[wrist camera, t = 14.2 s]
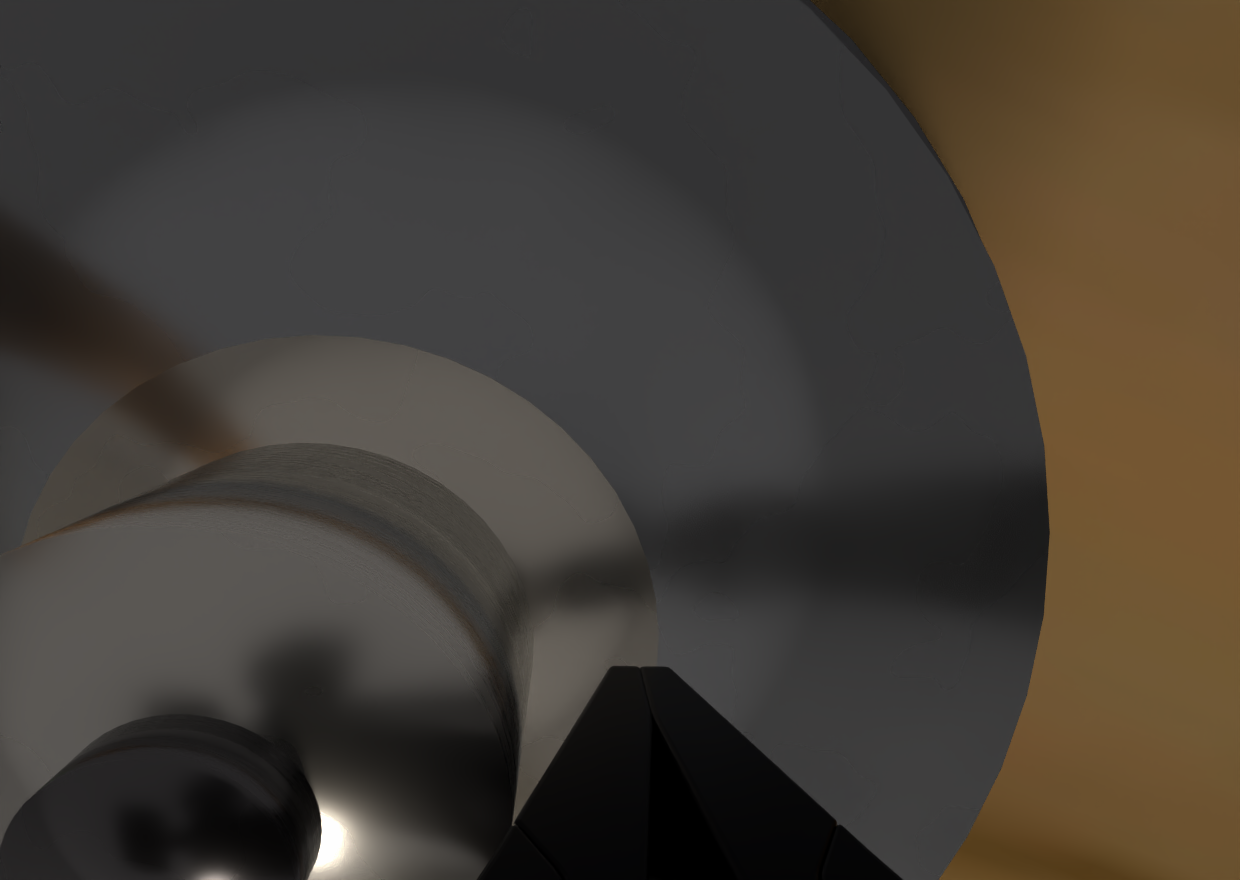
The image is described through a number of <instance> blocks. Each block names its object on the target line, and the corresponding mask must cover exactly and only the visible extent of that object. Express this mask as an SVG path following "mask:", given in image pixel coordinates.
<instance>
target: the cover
mask: <svg viewBox="0 0 1240 880" xmlns="http://www.w3.org/2000/svg"><path fill="white" fill-rule="evenodd" d="M533 649H534V634H533V626H532V617H531V611H530V607H529V603H528V600H527V596H526V592H525V589H524V586H523V584H522V581H521V579H520V577H519V574H518V572H517V570H516V567H515V565H514V563H513V561H512V560H511V558H510V556H509V555H508V553H507V551H506V550H505V548H504V546H503V545H502V543H501V541H500V540H499V539H498V537H497V536H496V535H495V534H494V532H493V531H492V530H491V529H490V527H489V526H488V525H487V524H486V522H485V521H484V520H483V519H482V518H481V517H480V516H479V515H478V514H477V513H476V512H475V511H474V510H473V509H472V508H471V507H470V506H469V505H468V504H467V503H466V502H465V501H464V500H462V499H461V498H460V497H458V496H457V495H456V494H454V493H453V492H452V491H450V490H449V489H448V488H446V487H445V486H444V485H442V484H441V483H439V482H438V481H436V480H434V479H432V478H431V477H429V476H427V475H425V474H424V473H422V472H420V471H418V470H417V469H415V468H413V467H410V466H408V465H406V464H403V463H401V462H398V461H396V460H394V459H391V458H389V457H386V456H383V455H379V454H376V453H372V452H369V451H365V450H362V449H358V448H352V447H346V446H339V445H333V444H321V443H289V444H278V445H268V446H263V447H259V448H254V449H250V450H245V451H241V452H237V453H235V454H232V455H229V456H226V457H224V458H221V459H218V460H215V461H213V462H210V463H208V464H206V465H203V466H201V467H199V468H197V469H194V470H192V471H190V472H188V473H185V474H183V475H181V476H179V477H176V478H174V479H172V480H169V481H167V482H165V483H163V484H160V485H158V486H156V487H154V488H151V489H149V490H147V491H145V492H142V493H140V494H138V495H135V496H133V497H131V498H129V499H126V500H124V501H122V502H120V503H117V504H115V505H113V506H111V507H108V508H106V509H104V510H101V511H99V512H97V513H95V514H92V515H90V516H88V517H86V518H83V519H81V520H79V521H77V522H74V523H72V524H70V525H67V526H65V527H63V528H61V529H58V530H56V531H54V532H52V533H49V534H47V535H45V536H43V537H40V538H38V539H36V540H33V541H31V542H29V543H27V544H24V545H22V546H20V547H18V548H15V549H13V550H11V551H9V552H6V553H4V554H2V555H0V880H477V878H478V877H479V875H480V874H481V872H482V871H483V869H484V868H485V866H486V865H487V863H488V862H489V860H490V859H491V857H492V856H493V854H494V853H495V851H496V850H497V848H498V846H499V845H500V843H501V841H502V840H503V838H504V837H505V835H506V833H507V832H508V830H509V828H510V827H511V826H512V822H513V815H514V807H515V799H516V791H517V783H518V776H519V768H520V760H521V752H522V744H523V737H524V729H525V721H526V713H527V705H528V697H529V690H530V682H531V674H532V666H533Z"/></svg>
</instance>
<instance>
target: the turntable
mask: <svg viewBox="0 0 1240 880" xmlns="http://www.w3.org/2000/svg"><path fill="white" fill-rule="evenodd" d="M289 443H321V444H333V445H339V446H346V447H352V448H358V449H362V450H365V451H369V452H372V453H376V454H379V455H383V456H386V457H389V458H391V459H394V460H396V461H398V462H401V463H403V464H406V465H408V466H410V467H413V468H415V469H417V470H418V471H420V472H422V473H424V474H425V475H427V476H429V477H431V478H432V479H434V480H436V481H438V482H439V483H441V484H442V485H444V486H445V487H446V488H448V489H449V490H450V491H452V492H453V493H454V494H456V495H457V496H458V497H460V498H461V499H462V500H464V501H465V502H466V503H467V504H468V505H469V506H470V507H471V508H472V509H473V510H474V511H475V512H476V513H477V514H478V515H479V516H480V517H481V518H482V519H483V520H484V521H485V522H486V524H487V525H488V526H489V527H490V529H491V530H492V531H493V532H494V534H495V535H496V536H497V537H498V539H499V540H500V541H501V543H502V545H503V546H504V548H505V550H506V551H507V553H508V555H509V556H510V558H511V560H512V561H513V563H514V565H515V567H516V570H517V572H518V574H519V577H520V579H521V581H522V584H523V586H524V589H525V592H526V596H527V600H528V603H529V607H530V611H531V617H532V626H533V634H534V649H533V666H532V674H531V682H530V690H529V697H528V705H527V713H526V721H525V729H524V737H523V744H522V752H521V760H520V768H519V776H518V783H517V791H516V799H515V807H514V815H513V822H512V826H513V825H514V821H515V819H516V818H517V816H518V815H519V813H520V811H521V810H522V808H523V806H524V805H525V803H526V802H527V800H528V798H529V797H530V795H531V794H532V792H533V790H534V789H535V787H536V785H537V784H538V782H539V781H540V779H541V777H542V776H543V774H544V773H545V771H546V769H547V768H548V766H549V764H550V763H551V761H552V760H553V758H554V756H555V755H556V753H557V751H558V750H559V748H560V747H561V745H562V743H563V742H564V740H565V739H566V737H567V735H568V734H569V732H570V730H571V729H572V727H573V726H574V724H575V722H576V721H577V719H578V718H579V716H580V714H581V713H582V711H583V709H584V708H585V706H586V705H587V703H588V701H589V700H590V698H591V697H592V695H593V693H594V692H595V690H596V688H597V687H598V685H599V684H600V682H601V680H602V679H603V677H604V675H605V674H606V672H607V671H608V669H609V668H610V667H612V666H637V667H639V668H641V667H643V666H665V667H669V668H671V669H672V670H673V671H674V672H675V673H676V674H677V675H678V676H680V677H681V678H682V679H683V680H684V681H685V682H686V683H687V684H688V685H689V686H690V687H692V688H693V689H694V690H695V691H696V692H697V693H698V694H699V695H700V696H701V697H702V698H704V699H705V700H706V701H707V702H708V703H709V704H710V705H711V706H712V707H713V708H715V709H716V710H717V711H718V712H719V713H720V714H721V715H722V716H723V717H724V718H725V719H727V720H728V721H729V722H730V723H731V724H732V725H733V726H734V727H735V728H736V729H737V730H739V731H740V732H741V733H742V734H743V735H744V736H745V737H746V738H747V739H748V740H749V741H751V742H752V743H753V744H754V745H755V746H756V747H757V748H758V749H759V750H760V751H761V752H763V753H764V754H765V755H766V756H767V757H768V758H769V759H770V760H771V761H772V762H773V763H775V764H776V765H777V766H778V767H779V768H780V769H781V770H782V771H783V772H784V773H785V774H787V775H788V776H789V777H790V778H791V779H792V780H793V781H794V782H795V783H796V784H797V785H799V786H800V787H801V788H802V789H803V790H804V791H805V792H806V793H807V794H808V795H809V796H811V797H812V798H813V799H814V800H815V801H816V802H817V803H818V804H819V805H820V806H822V807H823V808H824V809H825V810H826V811H827V812H828V813H829V814H830V815H831V816H832V817H834V818H835V819H836V821H837V825H842V826H844V827H845V828H846V829H847V830H848V831H849V832H850V833H851V834H852V835H854V836H855V837H856V838H857V839H858V840H859V841H860V842H861V843H862V844H863V845H864V846H866V847H867V848H868V849H869V850H870V851H871V852H872V853H873V854H875V855H876V856H877V857H878V858H879V859H880V860H882V861H883V862H884V863H885V864H886V865H887V866H888V867H890V868H891V869H892V870H893V871H894V872H895V873H896V874H898V875H899V876H900V877H901V878H902V879H903V880H939V878H940V877H941V875H942V874H943V872H944V871H945V869H946V868H947V866H948V865H949V863H950V862H951V860H952V859H953V857H954V856H955V854H956V853H957V851H958V850H959V848H960V847H961V845H962V844H963V842H964V841H965V839H966V838H967V836H968V834H969V832H970V830H971V828H972V826H973V824H974V822H975V820H976V818H977V816H978V814H979V812H980V810H981V808H982V806H983V804H984V802H985V800H986V798H987V796H988V794H989V792H990V790H991V788H992V786H993V784H994V782H995V780H996V778H997V776H998V774H999V772H1000V770H1001V767H1002V765H1003V762H1004V759H1005V756H1006V753H1007V750H1008V747H1009V745H1010V742H1011V739H1012V736H1013V733H1014V730H1015V727H1016V725H1017V722H1018V719H1019V716H1020V713H1021V710H1022V708H1023V705H1024V702H1025V699H1026V696H1027V692H1028V687H1029V683H1030V678H1031V673H1032V668H1033V664H1034V659H1035V654H1036V649H1037V644H1038V640H1039V635H1040V630H1041V625H1042V621H1043V616H1044V602H1045V589H1046V575H1047V561H1048V548H1049V534H1050V531H1049V515H1048V499H1047V483H1046V468H1045V452H1044V443H1043V438H1042V433H1041V428H1040V423H1039V418H1038V413H1037V408H1036V403H1035V398H1034V393H1033V388H1032V383H1031V379H1030V374H1029V369H1028V364H1027V359H1026V355H1025V352H1024V349H1023V346H1022V344H1021V341H1020V338H1019V335H1018V332H1017V329H1016V327H1015V324H1014V321H1013V318H1012V315H1011V312H1010V310H1009V307H1008V304H1007V301H1006V298H1005V295H1004V292H1003V290H1002V287H1001V284H1000V281H999V278H998V275H997V273H996V270H995V267H994V265H993V263H992V261H991V259H990V257H989V255H988V253H987V251H986V249H985V247H984V245H983V243H982V242H981V240H980V238H979V236H978V234H977V232H976V230H975V228H974V226H973V224H972V222H971V220H970V218H969V216H968V214H967V213H966V211H965V209H964V207H963V205H962V203H961V201H960V199H959V197H958V195H957V193H956V191H955V189H954V187H953V185H952V184H951V182H950V180H949V178H948V176H947V175H946V173H945V172H944V170H943V169H942V167H941V166H940V165H939V163H938V162H937V160H936V159H935V158H934V156H933V155H932V153H931V152H930V151H929V149H928V148H927V146H926V145H925V143H924V142H923V141H922V139H921V138H920V136H919V135H918V134H917V132H916V131H915V129H914V128H913V127H912V125H911V124H910V122H909V121H908V119H907V118H906V117H905V115H904V114H903V112H902V111H901V110H900V108H899V107H898V105H897V104H896V103H895V101H894V100H893V98H892V97H891V95H890V94H889V93H888V91H887V90H886V89H885V88H884V87H883V86H882V84H881V83H880V82H879V81H878V80H877V79H876V78H875V77H874V76H873V75H872V74H871V73H870V72H869V71H868V70H867V69H866V67H865V66H864V65H863V64H862V63H861V62H860V61H859V60H858V59H857V58H856V57H855V56H854V55H853V54H852V53H851V52H850V50H849V49H848V48H847V47H846V46H845V45H844V44H843V43H842V42H841V41H840V40H839V39H838V38H837V37H836V36H835V35H834V33H833V32H832V31H831V30H830V29H829V28H828V27H827V26H826V25H825V24H824V23H823V22H822V21H821V20H820V19H819V18H818V16H817V15H816V14H815V13H814V12H813V11H812V10H811V9H810V8H809V7H808V6H806V5H805V4H804V3H803V2H801V1H800V0H0V555H2V554H4V553H6V552H9V551H11V550H13V549H15V548H18V547H20V546H22V545H24V544H27V543H29V542H31V541H33V540H36V539H38V538H40V537H43V536H45V535H47V534H49V533H52V532H54V531H56V530H58V529H61V528H63V527H65V526H67V525H70V524H72V523H74V522H77V521H79V520H81V519H83V518H86V517H88V516H90V515H92V514H95V513H97V512H99V511H101V510H104V509H106V508H108V507H111V506H113V505H115V504H117V503H120V502H122V501H124V500H126V499H129V498H131V497H133V496H135V495H138V494H140V493H142V492H145V491H147V490H149V489H151V488H154V487H156V486H158V485H160V484H163V483H165V482H167V481H169V480H172V479H174V478H176V477H179V476H181V475H183V474H185V473H188V472H190V471H192V470H194V469H197V468H199V467H201V466H203V465H206V464H208V463H210V462H213V461H215V460H218V459H221V458H224V457H226V456H229V455H232V454H235V453H237V452H241V451H245V450H250V449H254V448H259V447H263V446H268V445H278V444H289Z"/></svg>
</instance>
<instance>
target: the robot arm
mask: <svg viewBox="0 0 1240 880" xmlns="http://www.w3.org/2000/svg"><path fill="white" fill-rule="evenodd" d="M477 880H903V879H902V878H901V877H900V876H899V875H898V874H896V873H895V872H894V871H893V870H892V869H891V868H890V867H888V866H887V865H886V864H885V863H884V862H883V861H882V860H880V859H879V858H878V857H877V856H876V855H875V854H873V853H872V852H871V851H870V850H869V849H868V848H867V847H866V846H864V845H863V844H862V843H861V842H860V841H859V840H858V839H857V838H856V837H855V836H854V835H852V834H851V833H850V832H849V831H848V830H847V829H846V828H845V827H844V826H842V825H837V821H836V819H835V818H834V817H832V816H831V815H830V814H829V813H828V812H827V811H826V810H825V809H824V808H823V807H822V806H820V805H819V804H818V803H817V802H816V801H815V800H814V799H813V798H812V797H811V796H809V795H808V794H807V793H806V792H805V791H804V790H803V789H802V788H801V787H800V786H799V785H797V784H796V783H795V782H794V781H793V780H792V779H791V778H790V777H789V776H788V775H787V774H785V773H784V772H783V771H782V770H781V769H780V768H779V767H778V766H777V765H776V764H775V763H773V762H772V761H771V760H770V759H769V758H768V757H767V756H766V755H765V754H764V753H763V752H761V751H760V750H759V749H758V748H757V747H756V746H755V745H754V744H753V743H752V742H751V741H749V740H748V739H747V738H746V737H745V736H744V735H743V734H742V733H741V732H740V731H739V730H737V729H736V728H735V727H734V726H733V725H732V724H731V723H730V722H729V721H728V720H727V719H725V718H724V717H723V716H722V715H721V714H720V713H719V712H718V711H717V710H716V709H715V708H713V707H712V706H711V705H710V704H709V703H708V702H707V701H706V700H705V699H704V698H702V697H701V696H700V695H699V694H698V693H697V692H696V691H695V690H694V689H693V688H692V687H690V686H689V685H688V684H687V683H686V682H685V681H684V680H683V679H682V678H681V677H680V676H678V675H677V674H676V673H675V672H674V671H673V670H672V669H671V668H669V667H665V666H643V667H641V668H639V667H637V666H612V667H610V668H609V669H608V671H607V672H606V674H605V675H604V677H603V679H602V680H601V682H600V684H599V685H598V687H597V688H596V690H595V692H594V693H593V695H592V697H591V698H590V700H589V701H588V703H587V705H586V706H585V708H584V709H583V711H582V713H581V714H580V716H579V718H578V719H577V721H576V722H575V724H574V726H573V727H572V729H571V730H570V732H569V734H568V735H567V737H566V739H565V740H564V742H563V743H562V745H561V747H560V748H559V750H558V751H557V753H556V755H555V756H554V758H553V760H552V761H551V763H550V764H549V766H548V768H547V769H546V771H545V773H544V774H543V776H542V777H541V779H540V781H539V782H538V784H537V785H536V787H535V789H534V790H533V792H532V794H531V795H530V797H529V798H528V800H527V802H526V803H525V805H524V806H523V808H522V810H521V811H520V813H519V815H518V816H517V818H516V819H515V821H514V825H513V826H511V827H510V828H509V830H508V832H507V833H506V835H505V837H504V838H503V840H502V841H501V843H500V845H499V846H498V848H497V850H496V851H495V853H494V854H493V856H492V857H491V859H490V860H489V862H488V863H487V865H486V866H485V868H484V869H483V871H482V872H481V874H480V875H479V877H478V878H477Z"/></svg>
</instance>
